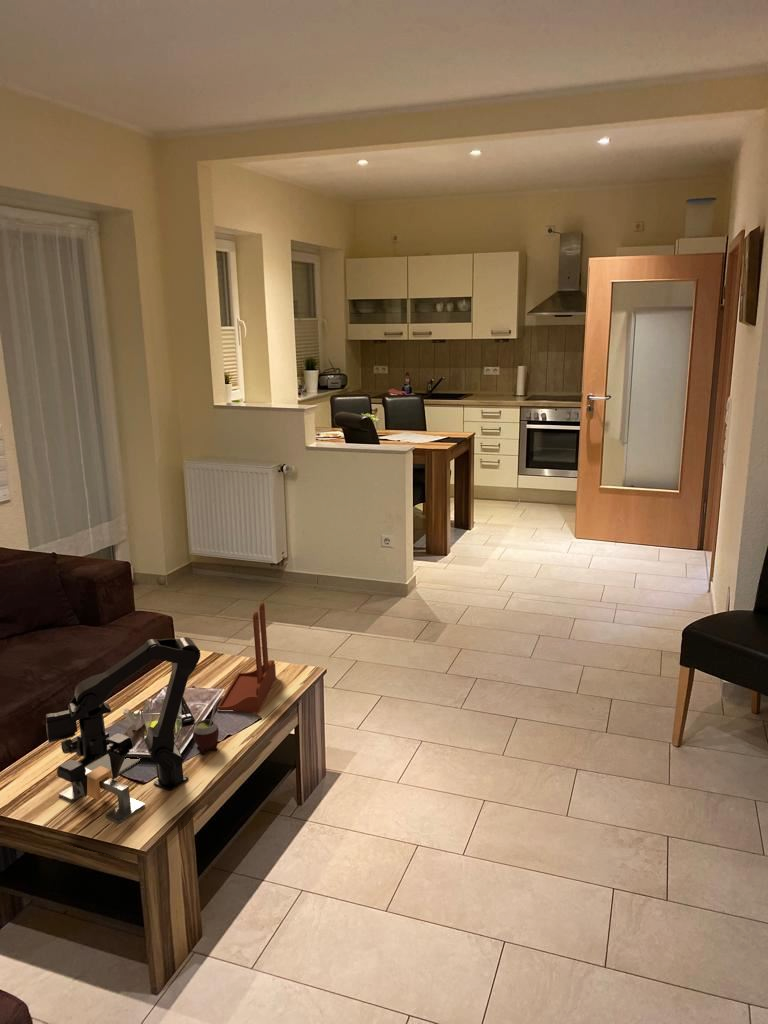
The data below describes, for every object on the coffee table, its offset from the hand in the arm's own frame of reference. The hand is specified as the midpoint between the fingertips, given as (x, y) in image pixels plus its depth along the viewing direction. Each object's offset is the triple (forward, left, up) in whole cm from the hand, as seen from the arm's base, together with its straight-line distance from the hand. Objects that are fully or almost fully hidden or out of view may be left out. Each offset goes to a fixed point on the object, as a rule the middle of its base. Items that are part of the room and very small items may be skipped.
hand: (100, 786), depth 195 cm
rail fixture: (0, 0, -4) cm, 4 cm away
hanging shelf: (+7, -63, -4) cm, 64 cm away
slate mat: (+13, -12, -4) cm, 18 cm away
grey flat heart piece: (+21, -29, -4) cm, 36 cm away
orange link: (0, 0, -2) cm, 2 cm away
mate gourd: (-6, -32, -4) cm, 33 cm away
